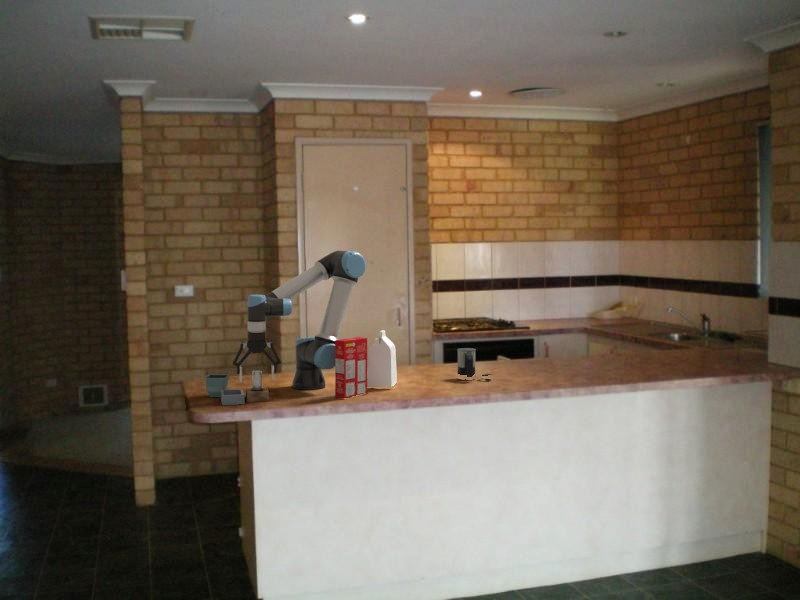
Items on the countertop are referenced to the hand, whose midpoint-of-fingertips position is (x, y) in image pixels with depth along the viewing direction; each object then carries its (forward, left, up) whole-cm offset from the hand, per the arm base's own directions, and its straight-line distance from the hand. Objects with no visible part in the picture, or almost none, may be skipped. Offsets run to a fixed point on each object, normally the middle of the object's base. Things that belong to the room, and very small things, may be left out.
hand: (256, 381), depth 360 cm
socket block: (0, 0, -8) cm, 8 cm away
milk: (-59, -16, -8) cm, 61 cm away
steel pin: (0, 0, -8) cm, 8 cm away
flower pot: (+16, -10, -8) cm, 21 cm away
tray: (+10, +3, -8) cm, 13 cm away
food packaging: (-41, +2, -8) cm, 41 cm away
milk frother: (-107, -25, -8) cm, 110 cm away
